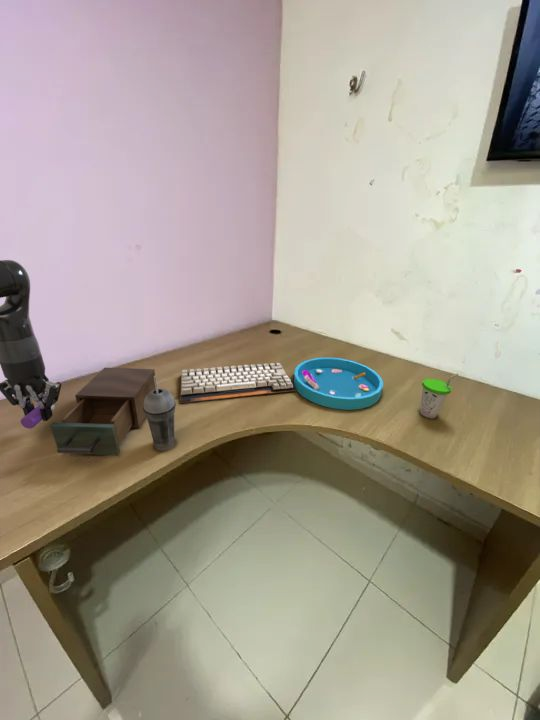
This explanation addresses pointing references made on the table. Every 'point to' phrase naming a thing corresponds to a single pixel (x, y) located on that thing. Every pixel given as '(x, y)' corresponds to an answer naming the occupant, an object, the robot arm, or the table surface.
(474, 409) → the table surface
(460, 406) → the table surface
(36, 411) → the glue stick
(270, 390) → the mechanical keyboard
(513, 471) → the table surface
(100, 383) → the cabinet
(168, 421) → the beverage cup
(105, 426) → the drawer
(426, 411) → the cup
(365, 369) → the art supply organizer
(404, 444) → the table surface
